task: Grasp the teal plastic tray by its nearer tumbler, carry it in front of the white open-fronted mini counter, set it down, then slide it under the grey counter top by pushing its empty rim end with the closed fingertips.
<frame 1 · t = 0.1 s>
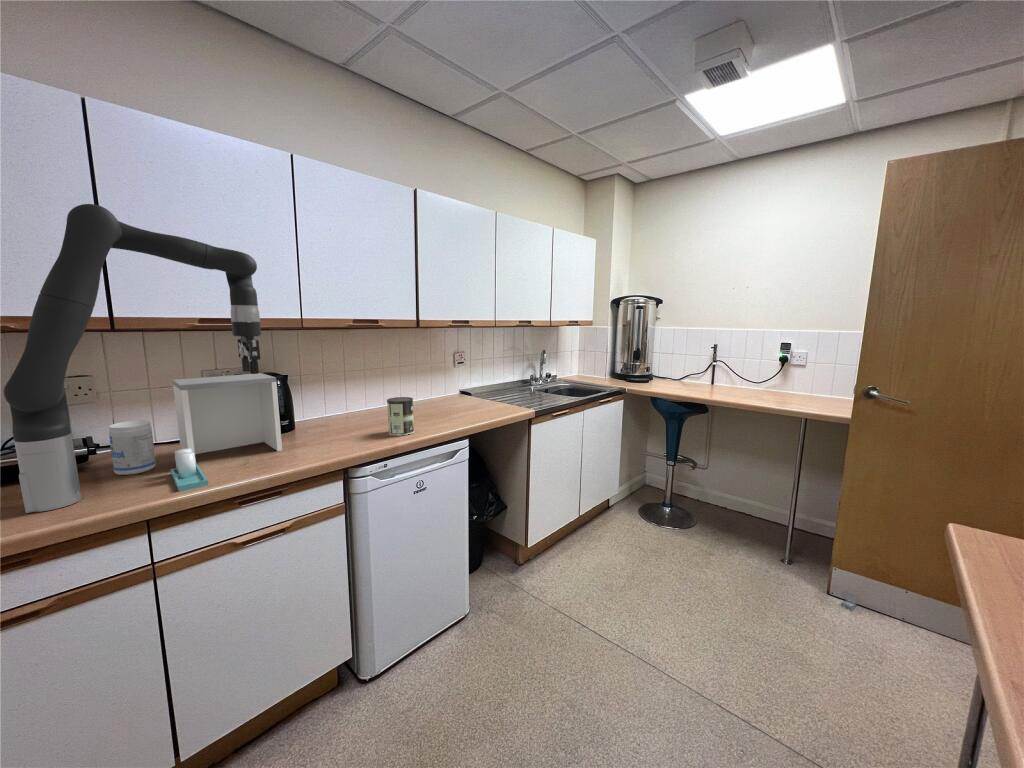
hand: (250, 372, 130), 29 cm above the kitchen counter, fingers open, 8 cm apart
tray: (189, 480, 119), on the kitchen counter
coffee can: (401, 433, 170), on the kitchen counter
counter: (232, 452, 144), on the kitchen counter
supplement tub: (136, 471, 127), on the kitchen counter
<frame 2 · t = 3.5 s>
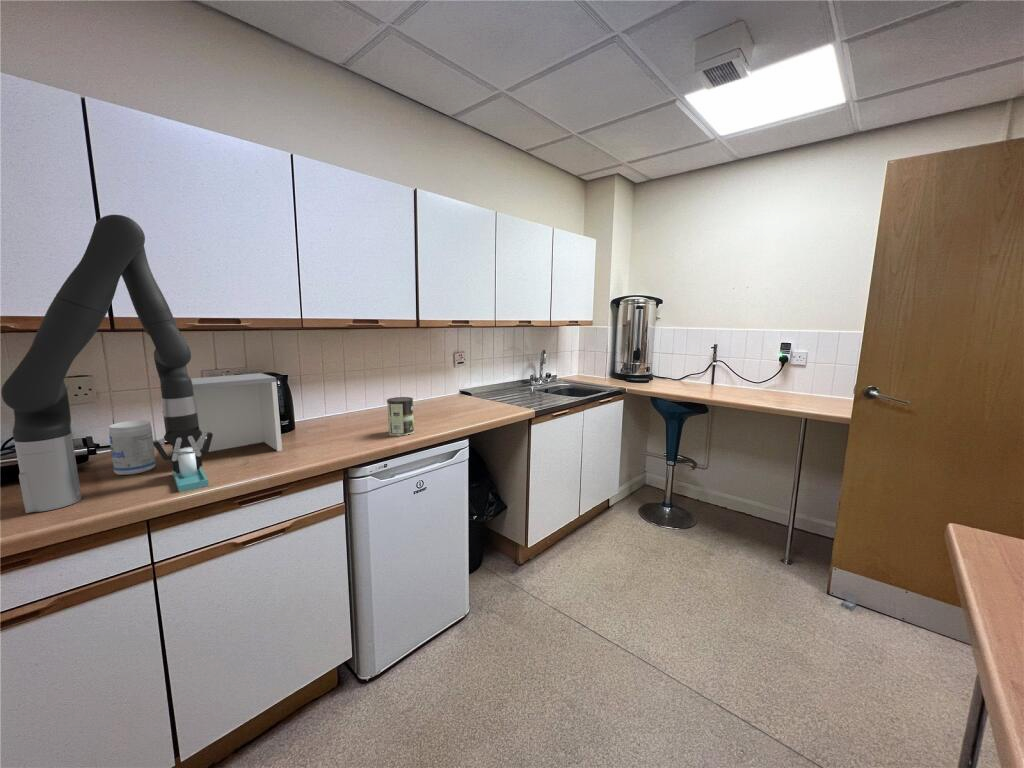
hand: (188, 470, 120), 2 cm above the kitchen counter, fingers closed on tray, 4 cm apart
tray: (190, 480, 119), on the kitchen counter, touching gripper
everything else where it was.
when the fingers open (3 cm above the kitchen counter, at t = 8.5 s): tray drops 1 cm, on the kitchen counter.
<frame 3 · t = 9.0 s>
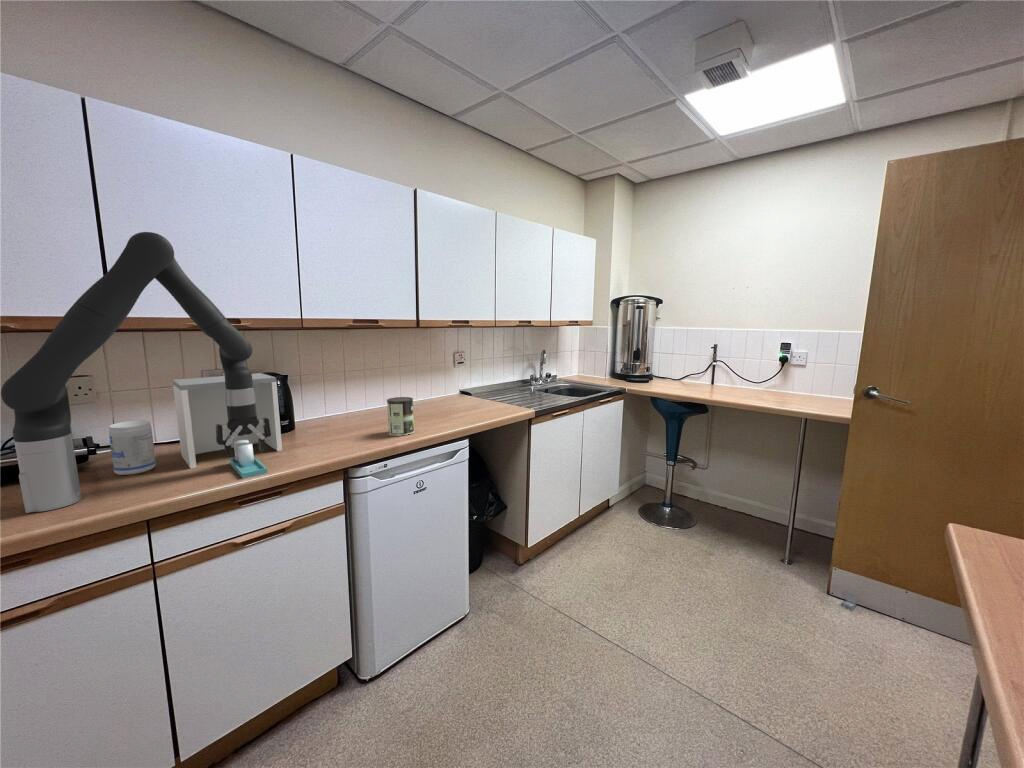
hand: (246, 453, 130), 4 cm above the kitchen counter, fingers open, 8 cm apart
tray: (248, 469, 128), on the kitchen counter
everything else where it was.
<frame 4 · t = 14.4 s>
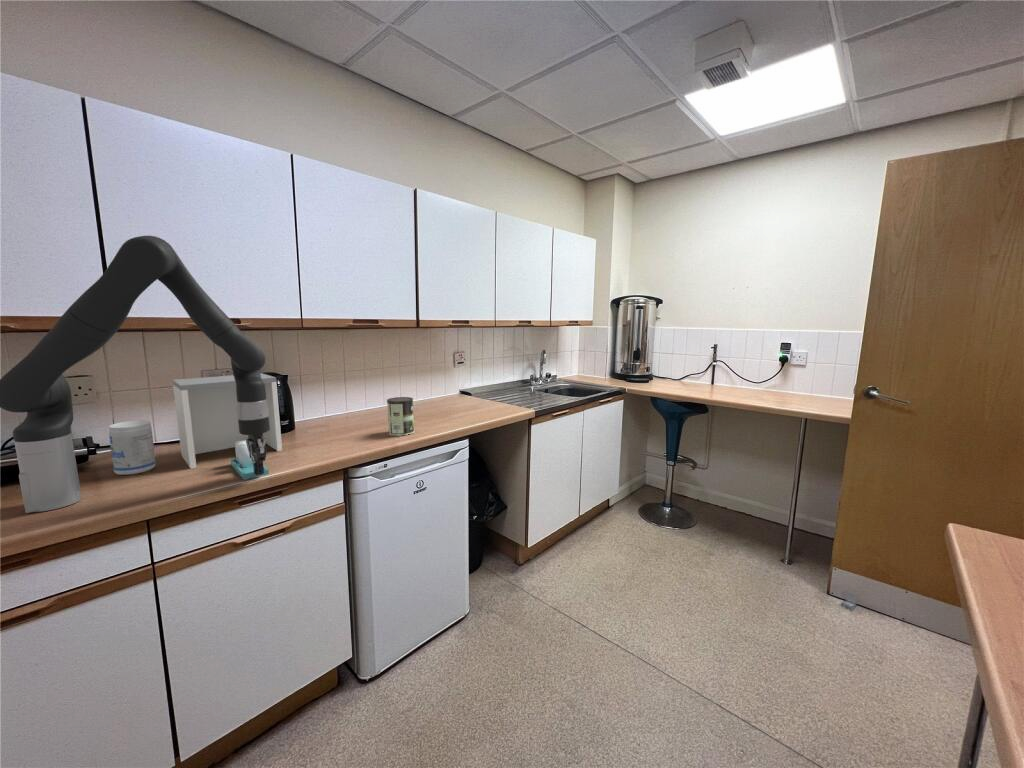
hand: (259, 474, 120), 1 cm above the kitchen counter, fingers closed
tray: (249, 470, 128), on the kitchen counter, touching gripper
everything else where it was.
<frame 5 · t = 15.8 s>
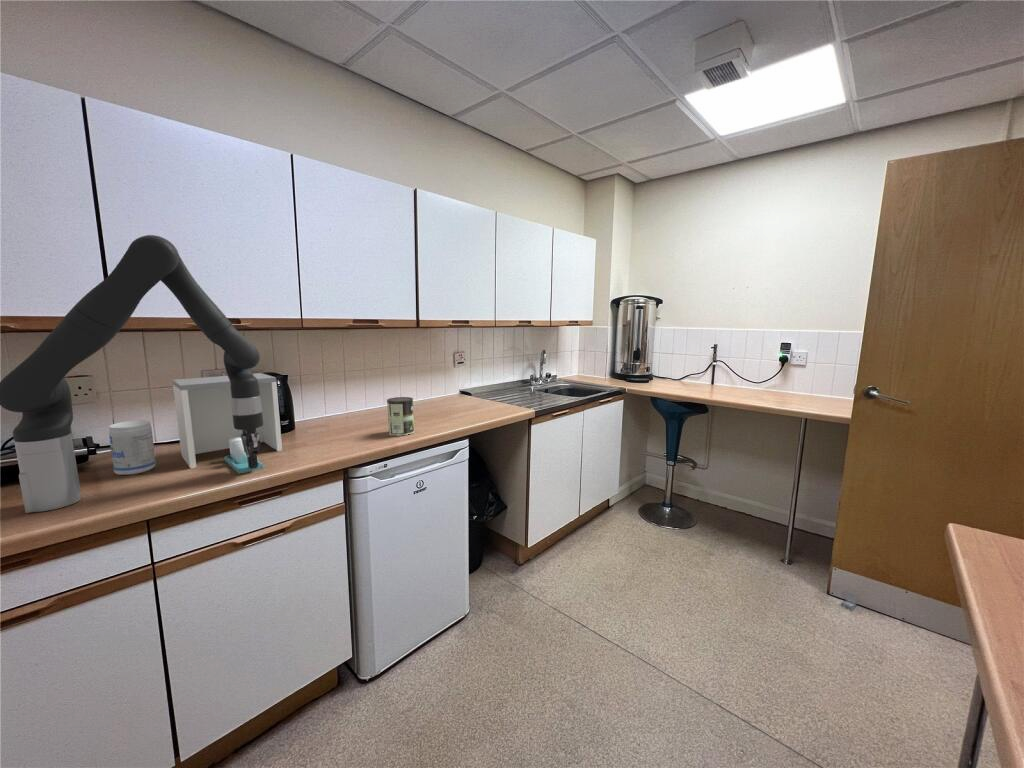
hand: (253, 467, 125), 1 cm above the kitchen counter, fingers closed
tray: (243, 465, 132), on the kitchen counter, touching gripper
everything else where it was.
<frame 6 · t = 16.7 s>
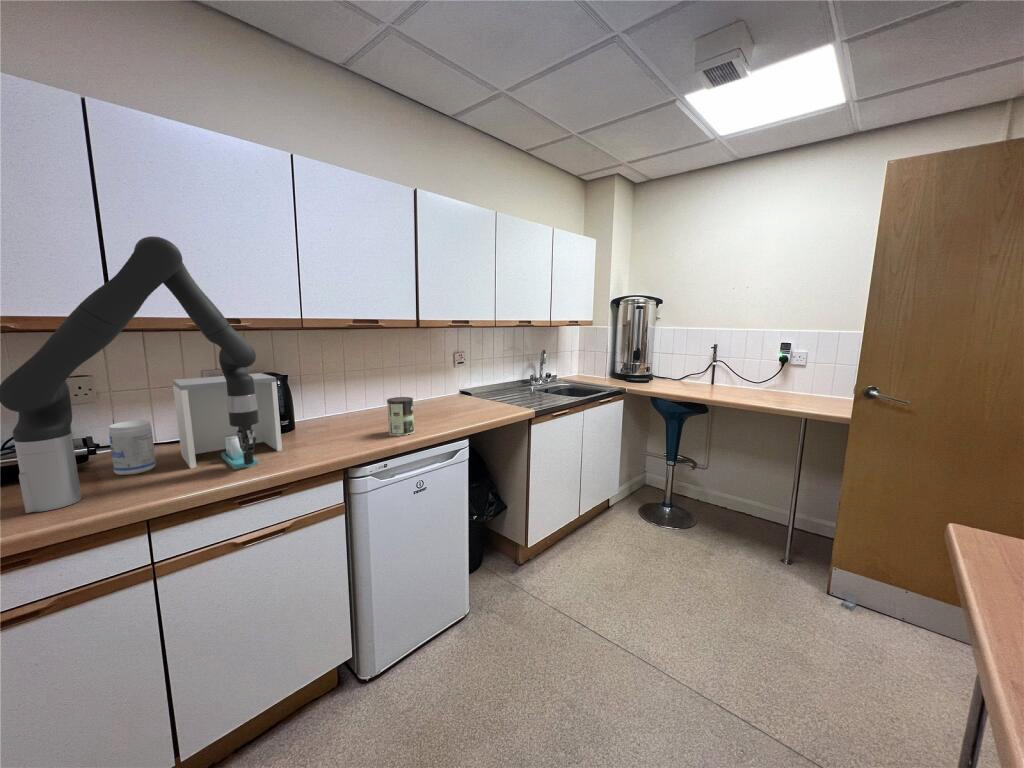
hand: (248, 463, 129), 1 cm above the kitchen counter, fingers closed
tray: (239, 461, 136), on the kitchen counter, touching gripper
everything else where it was.
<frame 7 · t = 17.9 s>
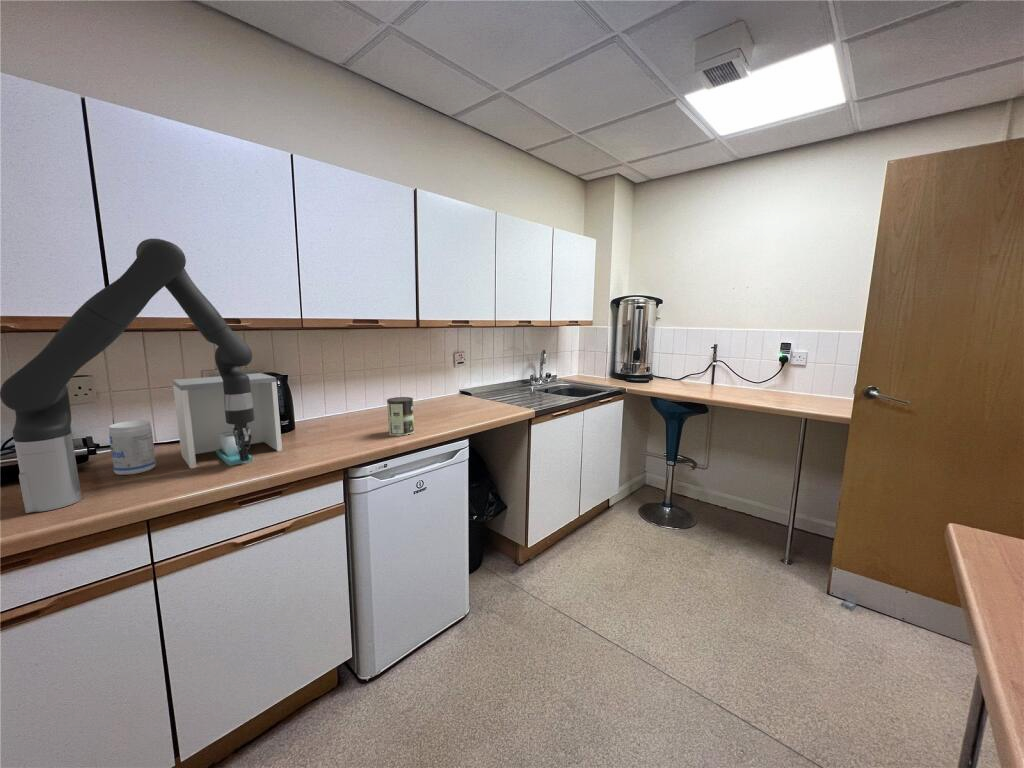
hand: (244, 460, 132), 1 cm above the kitchen counter, fingers closed
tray: (233, 458, 139), on the kitchen counter
everything else where it was.
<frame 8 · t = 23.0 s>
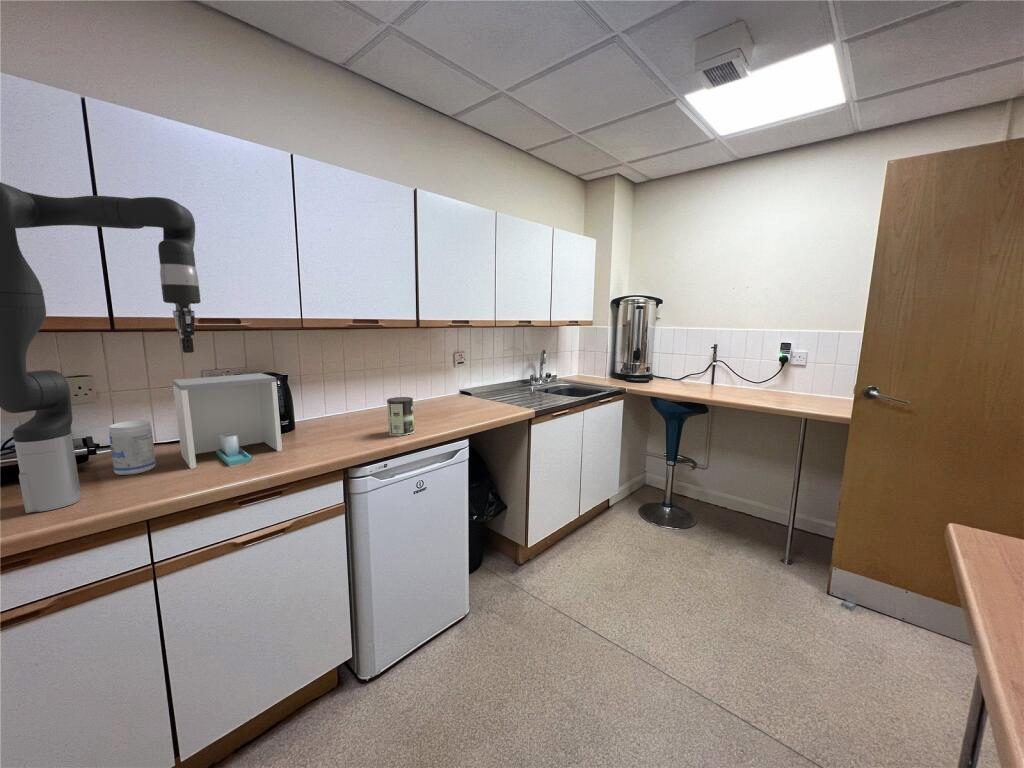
hand: (188, 352, 107), 37 cm above the kitchen counter, fingers closed
nothing on the kitchen counter moved.
at the end: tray inside the target area (5.0 cm from its centre), on the kitchen counter; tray tilted 0°; the gripper is holding nothing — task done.
